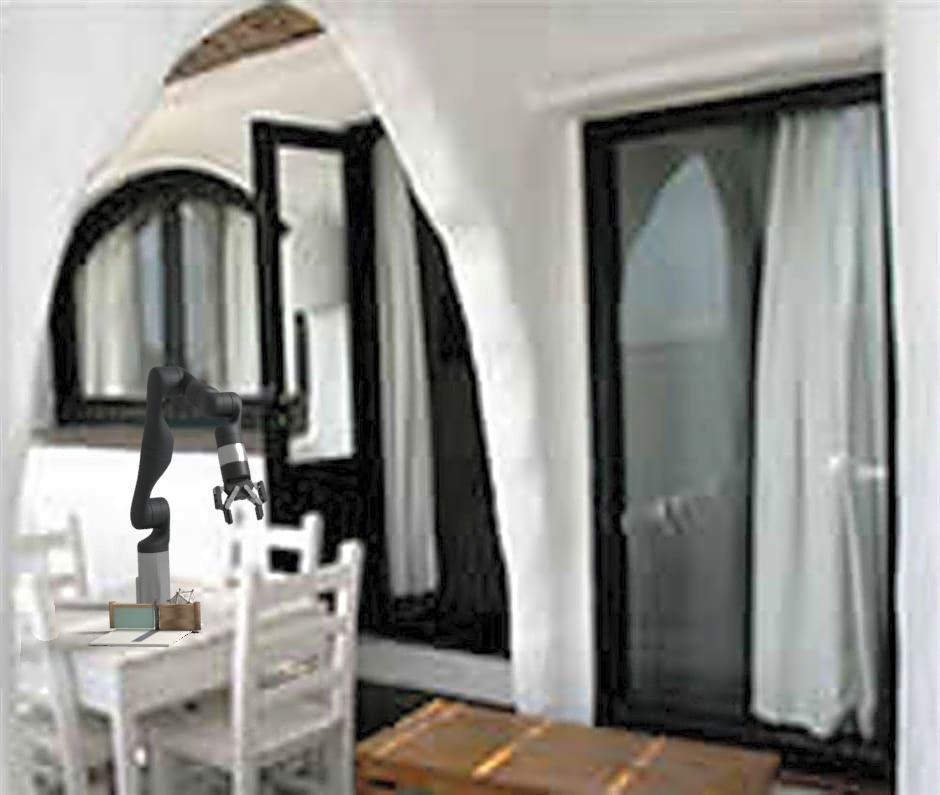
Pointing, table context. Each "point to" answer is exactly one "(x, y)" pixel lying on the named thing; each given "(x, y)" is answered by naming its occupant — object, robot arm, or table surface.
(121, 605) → the tan and green panel
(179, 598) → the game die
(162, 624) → the fixed fence section
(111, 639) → the board
